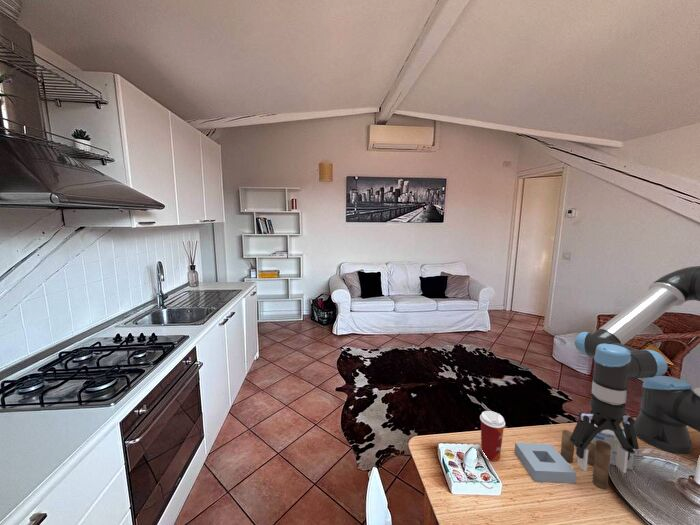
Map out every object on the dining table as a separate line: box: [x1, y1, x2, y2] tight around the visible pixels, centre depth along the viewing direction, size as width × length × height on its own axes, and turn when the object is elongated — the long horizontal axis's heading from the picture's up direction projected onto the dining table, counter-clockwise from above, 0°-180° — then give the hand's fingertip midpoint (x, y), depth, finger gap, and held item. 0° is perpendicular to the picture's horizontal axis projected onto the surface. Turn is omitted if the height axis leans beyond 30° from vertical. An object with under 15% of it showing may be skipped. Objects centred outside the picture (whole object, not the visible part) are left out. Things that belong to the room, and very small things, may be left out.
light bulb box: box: [591, 424, 635, 471], centre depth 97 cm, size 11×7×11 cm, turn 65°
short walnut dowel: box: [586, 442, 596, 467], centre depth 96 cm, size 3×3×6 cm
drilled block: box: [514, 442, 577, 484], centre depth 94 cm, size 12×12×4 cm
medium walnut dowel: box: [560, 429, 575, 464], centre depth 97 cm, size 3×3×9 cm
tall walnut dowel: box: [592, 440, 611, 491], centre depth 87 cm, size 3×3×13 cm
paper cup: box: [479, 410, 506, 462], centre depth 98 cm, size 8×8×14 cm
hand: (601, 468), depth 87 cm, fingers open, 10 cm apart
